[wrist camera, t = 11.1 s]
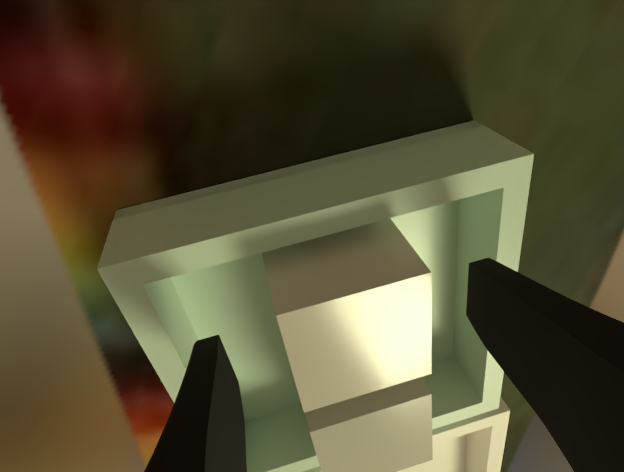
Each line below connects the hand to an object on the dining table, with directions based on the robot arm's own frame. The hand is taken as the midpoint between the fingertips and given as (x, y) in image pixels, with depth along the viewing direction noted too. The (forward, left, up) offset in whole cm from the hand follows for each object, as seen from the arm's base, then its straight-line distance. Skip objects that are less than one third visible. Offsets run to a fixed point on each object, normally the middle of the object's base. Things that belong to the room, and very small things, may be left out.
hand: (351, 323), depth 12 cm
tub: (0, -2, -4) cm, 5 cm away
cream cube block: (0, -5, -3) cm, 6 cm away
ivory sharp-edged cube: (0, 0, -3) cm, 3 cm away
